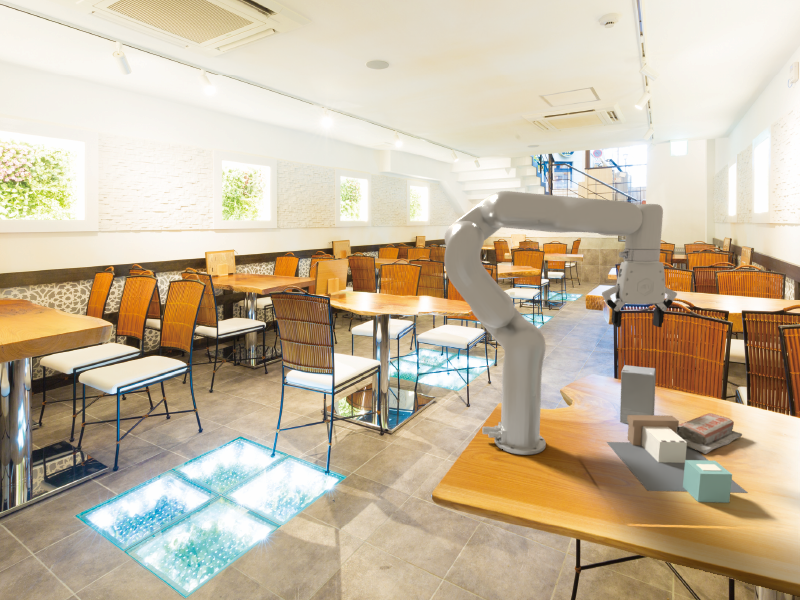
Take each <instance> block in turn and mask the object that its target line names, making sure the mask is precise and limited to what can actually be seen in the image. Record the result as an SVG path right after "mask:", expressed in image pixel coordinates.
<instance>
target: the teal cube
mask: <svg viewBox="0 0 800 600" xmlns="http://www.w3.org/2000/svg"><path fill="white" fill-rule="evenodd" d="M732 480H733V473H732V472H730V471H729V470H728V469H726V468H725V467H724V466H723V465H721V464H720V463H719V462H718V461H716V460H709V459H708V460H685V468H684V479H683V487H684V488H685V489H686V490H687V491H688V492H687V493H688V494H689V495H690V496H691V497H692V498H694V500H695V501H697V503H730V500H731V493H730V491H731V482H732Z"/></svg>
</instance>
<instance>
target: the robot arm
mask: <svg viewBox="0 0 800 600" xmlns="http://www.w3.org/2000/svg"><path fill="white" fill-rule="evenodd" d="M663 211H664V209H663V207H662V205H660V204H658V203H640V204H635V203H633V202H628V201H624V200H620V201H619V200H613V199H611V200H610V199H601V198H586V197H585V198H584V197H576V196H575V197H574V196H566V195H565V196H564V195H555V194H541V193H532V192H521V191H510V190H502V191H498V192H495V193H492V194H490V195H489V196H487V197H486V198H484V199H483V200H482V201H481V202H480V203H478V204H477V205H476V206H475V207H473V208H472V209H471V210H469V211H468V212H467V213H465V214H464V215H462V216H460V218H458V219H457V220H456V221H454V222H453V223H452V224H451V225H449V226H448V228H447V229H446V231H445V234H444V244H445V250H444V269H445V272H446V276H447V277H448V279H449V281H450V283H451V284H452V285H453V288H455V289H456V291H457V292H458V293H459V295H460V296H461V298H462V299H463V300H464V301H465V302H466V303H467V305H468V306H469V307H470V310H471V312H472V314H473V316H474V317H475V318H476V319H477V320H478V321H479V323H481V325H482V326H483V327H484V328H485V329H486V331H487V332H488V333H489V334H490V335H491V336H492V337H493V338H494V340H495V341H496V342H497V343H498V344H499V346H500V347H501V348H502V349H503V350H504V358H503V363H502V364H503V365H502V373H501V414H500V417H501V418H500V420H501V421H498V422H497V423H498V425H494V426H482V431H481V432H482V435H487V436H488V439H489V438H493V439H494V443H495V445H496V446H497V447H498V448H499V449H500V450H502V449H503V450H502V451H504V452H507V453H511V454H514V455H522V456H524V455H525V456H526V455H527V456H529V455H536V454H540V453H541V452H543V451H544V450H545V449H546V445H547V443H546V439H545V438H544V437H542V435H541V434H540V431H541V430H540V428H541V427H540V426H541V407H542V404H541V403H542V401H541V400H542V378H543V375H542V374H543V366H544V361H545V360H544V359H545V355H546V346H547V344H546V339H545V336H544V334H543V333H542V331H541V330H540V329H539V328H538V327H537V326H536V325H535V324H533V323H531V322H530V321H528V320H527V319H526V318H525V317H524V316H523V315H522V314H521V313H520V311H518V309H517V308H516V307H515V305H514V301H513V300H512V298H511V297H510V295H509V294H508V293H507V292H506V291H505V290H504V289H502V287H501V286H500V285H499V284H498V283H497V282H496V281H495V279H494V278H493V277H492V276H491V274H490V273H489V272H488V270H487V269H486V268H485V266H484V265H483V263H482V260H481V252H482V249H483V247H484V243H485V241H486V240H487V239H488V238H490V237H491V236H492V235H494V234H495V233H496V232H497V231H499V230H500V229H501V228H506V229H516V230H527V231H536V232H538V231H539V232H548V233H590V234H598V235H601V236H605V237H606V236H609V237H610V236H611V237H612V236H615V237H617V236H619V237H625V241H624V248H623V251H619V252H618V257H619V258H622V260H623V261H621V262H620V265H619V270H618V273H617V279H616V284H615V285H614V286H613V287H610V288H608V289H606V290H604V291H602V292H601V295H602V297H603V299H604V302H605V304H606V305H607V306H608V307H609V308H610V309H611V323H612V326H614V327H616V328H621V327H622V313H623V312H622V310H621V309H622V308H623V307H624V306H625V305H654V307H655V308H654V309H653V315H652V316H653V317H652V325H653V326H655V327H657V328H662V327H663V323H664V317H665V312H666V311H667V310H668V309H669V307H670V306H671V305H673V303H674V300H675V299H676V297H677V296H678V293H677V292H676V291H674V290H672V289H670V288H668V287H667V286H666V274H665V267H664V262H660V258H661V245H662V243H661V241H662V231H663V230H662V229H663V218H664V217H663V216H664V215H663V214H664V212H663ZM614 294H615V296H614V297H615V300H614V301H613V299H612V298H611V296H612V295H614Z"/></svg>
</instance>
